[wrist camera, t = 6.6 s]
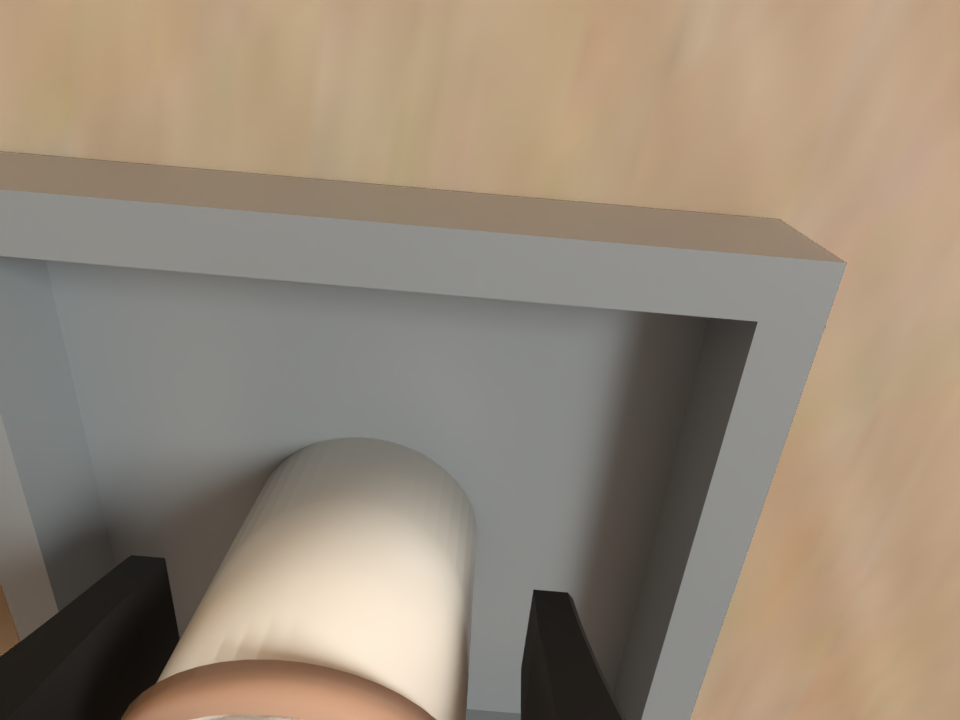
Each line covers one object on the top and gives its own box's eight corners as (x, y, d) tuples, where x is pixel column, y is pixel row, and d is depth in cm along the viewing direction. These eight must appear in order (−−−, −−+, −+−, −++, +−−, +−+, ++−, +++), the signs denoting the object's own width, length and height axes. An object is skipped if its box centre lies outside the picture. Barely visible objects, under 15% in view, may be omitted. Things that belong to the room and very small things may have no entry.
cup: (504, 450, 13) (503, 735, 8) (467, 629, 15) (446, 945, 10) (247, 410, 13) (62, 675, 8) (248, 598, 15) (107, 904, 10)
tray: (780, 219, 11) (846, 262, 9) (633, 726, 18) (652, 826, 15) (-12, 150, 11) (-137, 177, 9) (121, 683, 18) (65, 777, 15)
